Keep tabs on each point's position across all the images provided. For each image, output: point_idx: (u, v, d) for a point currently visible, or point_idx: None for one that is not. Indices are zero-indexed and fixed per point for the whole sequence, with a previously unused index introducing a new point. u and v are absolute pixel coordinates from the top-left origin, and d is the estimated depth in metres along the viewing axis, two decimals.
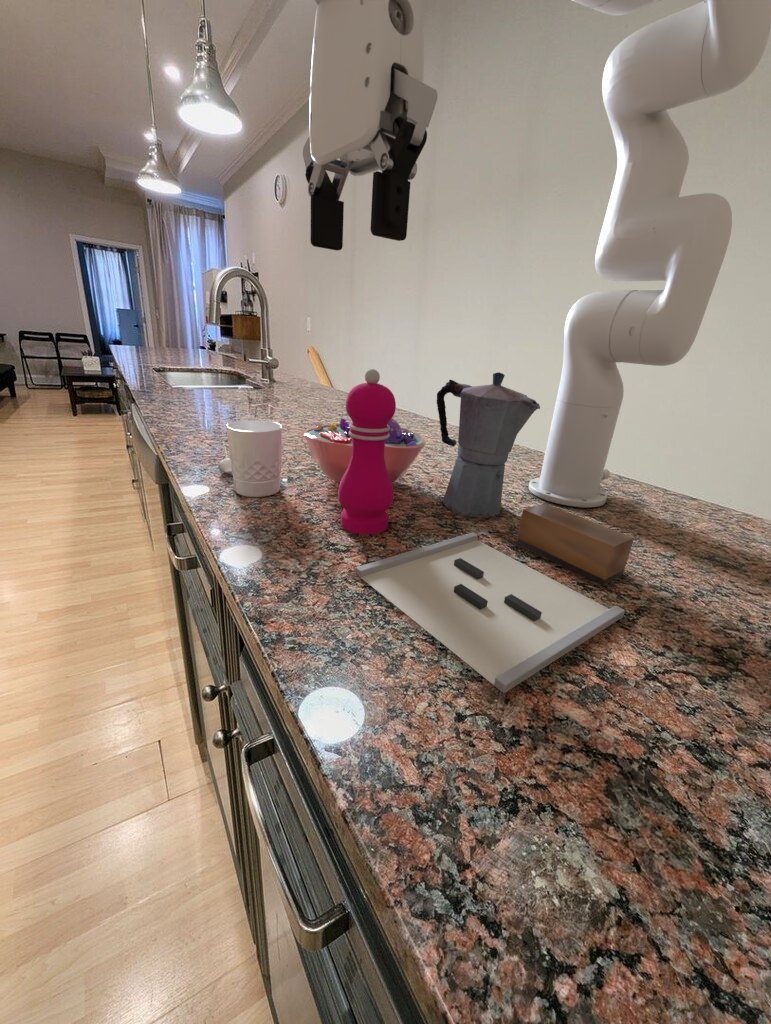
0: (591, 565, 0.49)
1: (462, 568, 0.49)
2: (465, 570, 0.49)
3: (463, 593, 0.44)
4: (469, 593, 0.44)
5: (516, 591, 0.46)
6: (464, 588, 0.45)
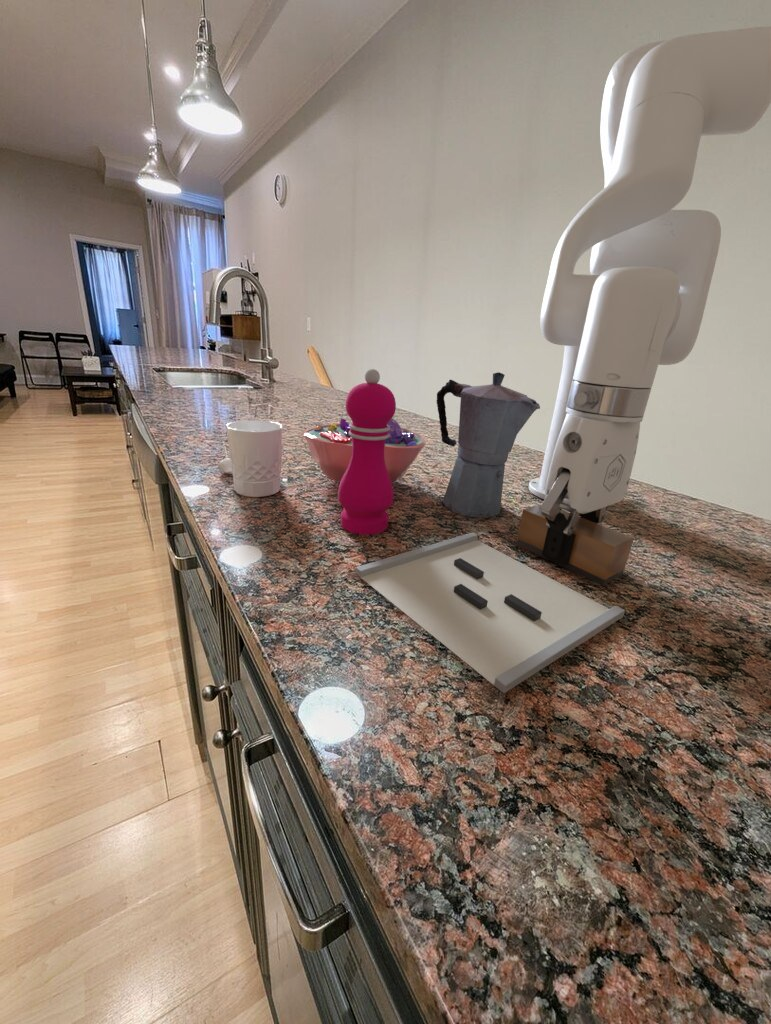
0: (591, 565, 0.49)
1: (462, 568, 0.49)
2: (465, 570, 0.49)
3: (463, 593, 0.44)
4: (469, 593, 0.44)
5: (516, 591, 0.46)
6: (464, 588, 0.45)
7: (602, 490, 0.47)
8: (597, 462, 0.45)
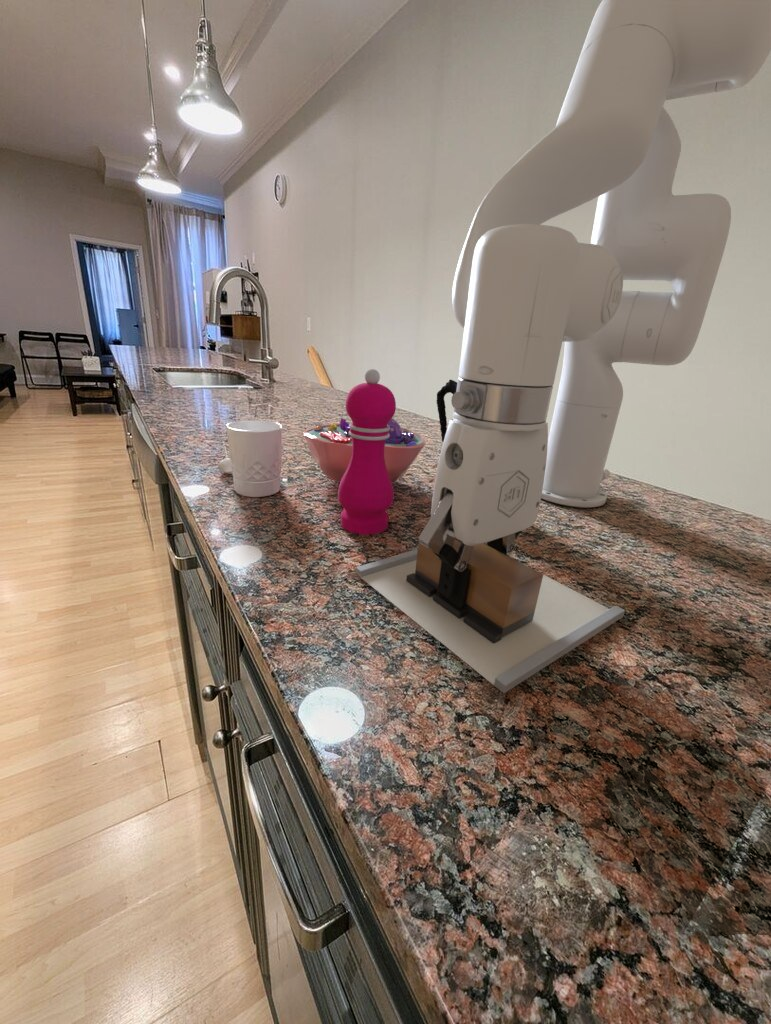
0: (489, 609, 0.39)
1: (414, 584, 0.45)
2: (417, 586, 0.45)
3: (442, 601, 0.42)
4: (448, 601, 0.42)
5: None
6: None
7: (497, 516, 0.37)
8: (483, 482, 0.35)
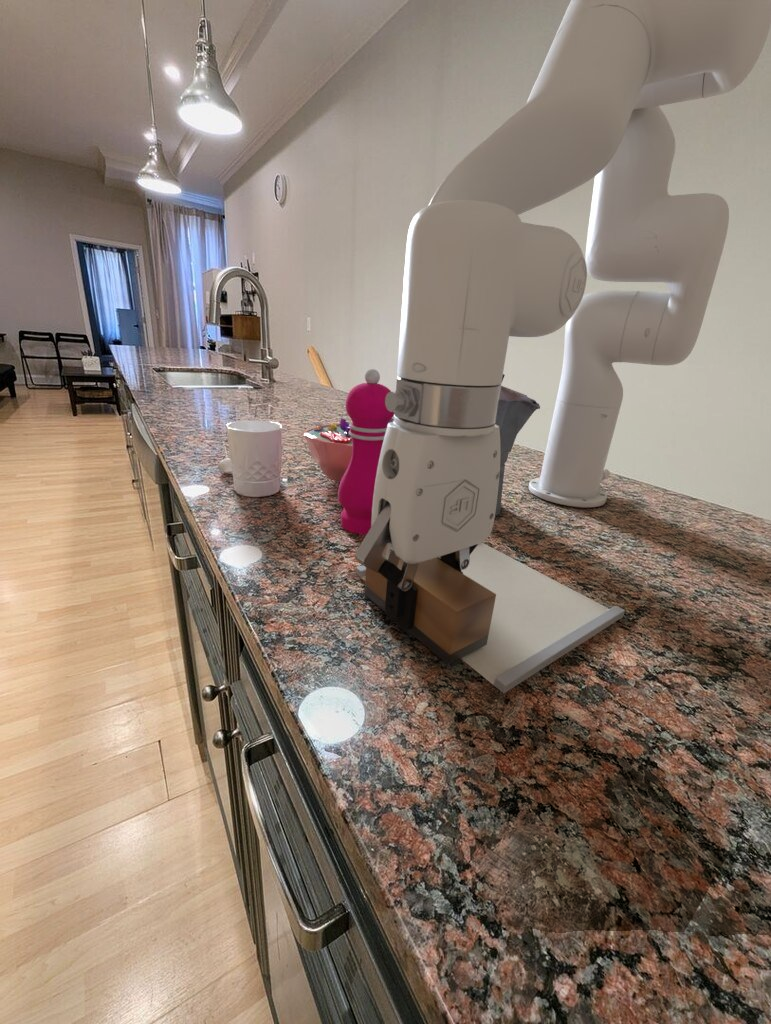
0: (436, 633, 0.35)
1: None
2: None
3: None
4: None
5: (516, 591, 0.46)
6: None
7: (442, 531, 0.33)
8: (422, 493, 0.31)
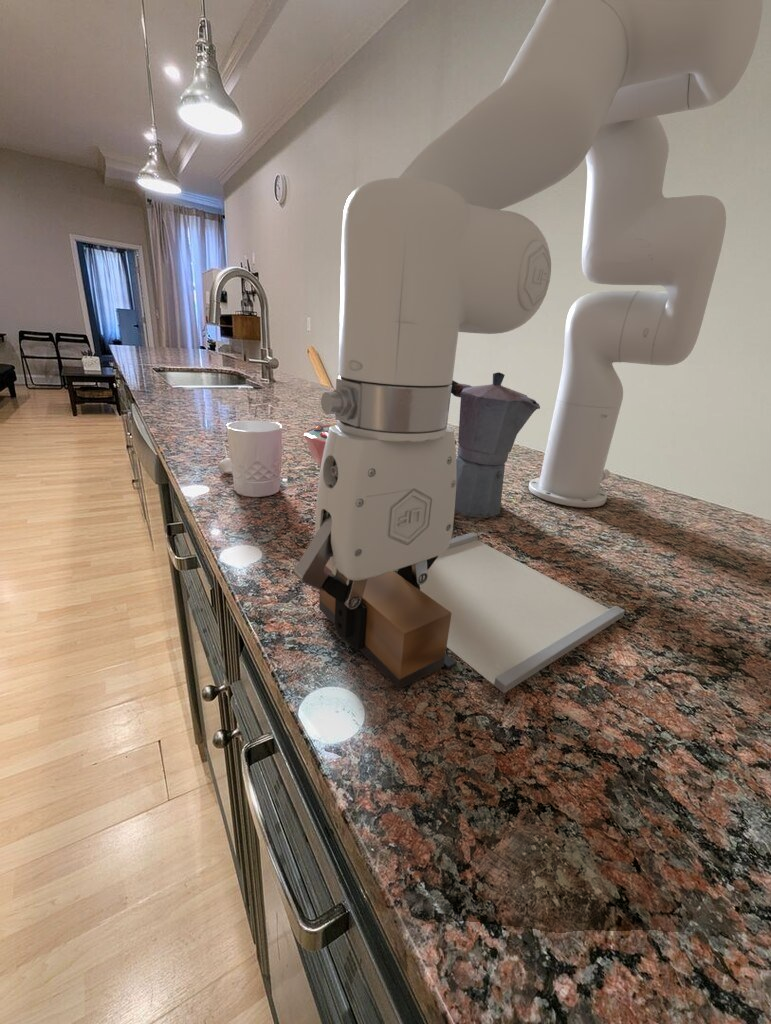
0: (385, 655, 0.32)
1: None
2: None
3: None
4: None
5: (516, 591, 0.46)
6: None
7: (389, 544, 0.31)
8: (364, 504, 0.28)
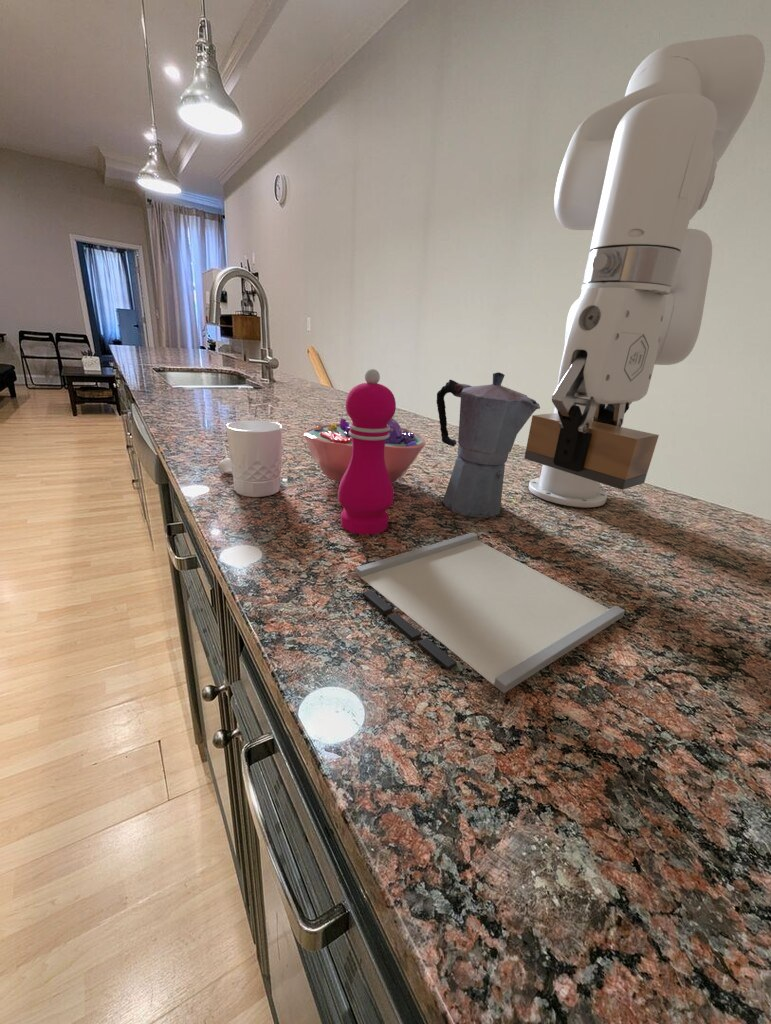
0: (610, 465, 0.44)
1: None
2: (373, 605, 0.42)
3: (396, 624, 0.39)
4: (402, 624, 0.39)
5: (516, 591, 0.46)
6: (398, 617, 0.40)
7: (623, 377, 0.42)
8: (618, 338, 0.39)
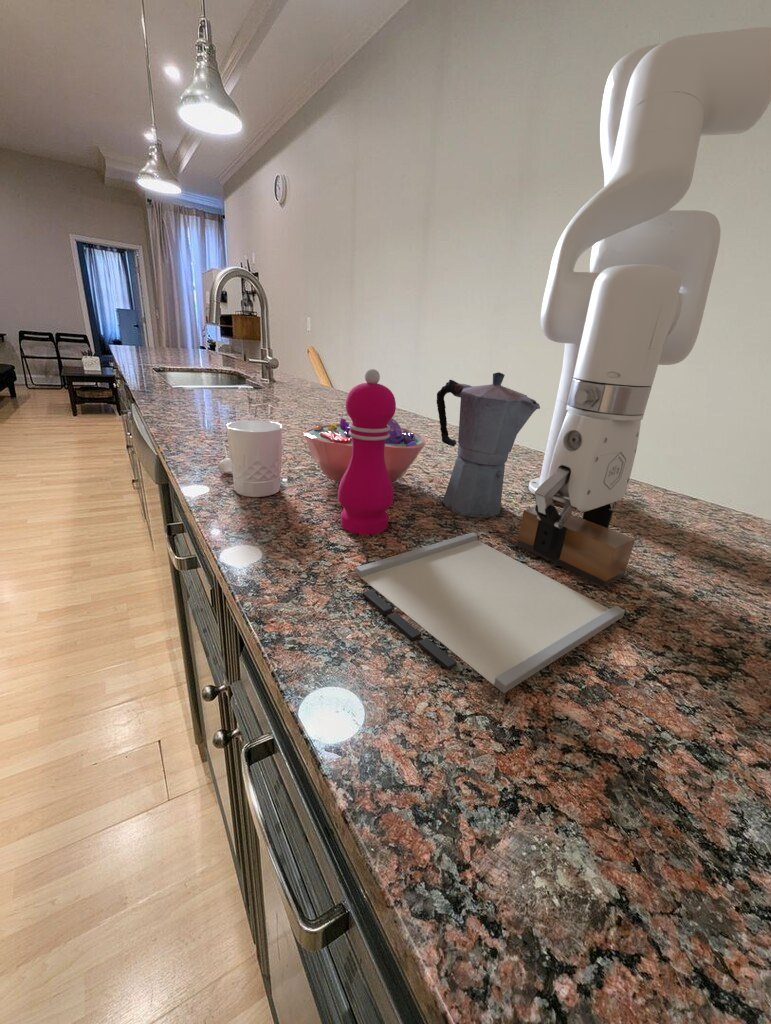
0: (592, 566, 0.49)
1: None
2: (373, 605, 0.42)
3: (396, 624, 0.39)
4: (402, 624, 0.39)
5: (516, 591, 0.46)
6: (398, 617, 0.40)
7: (602, 488, 0.47)
8: (597, 460, 0.45)
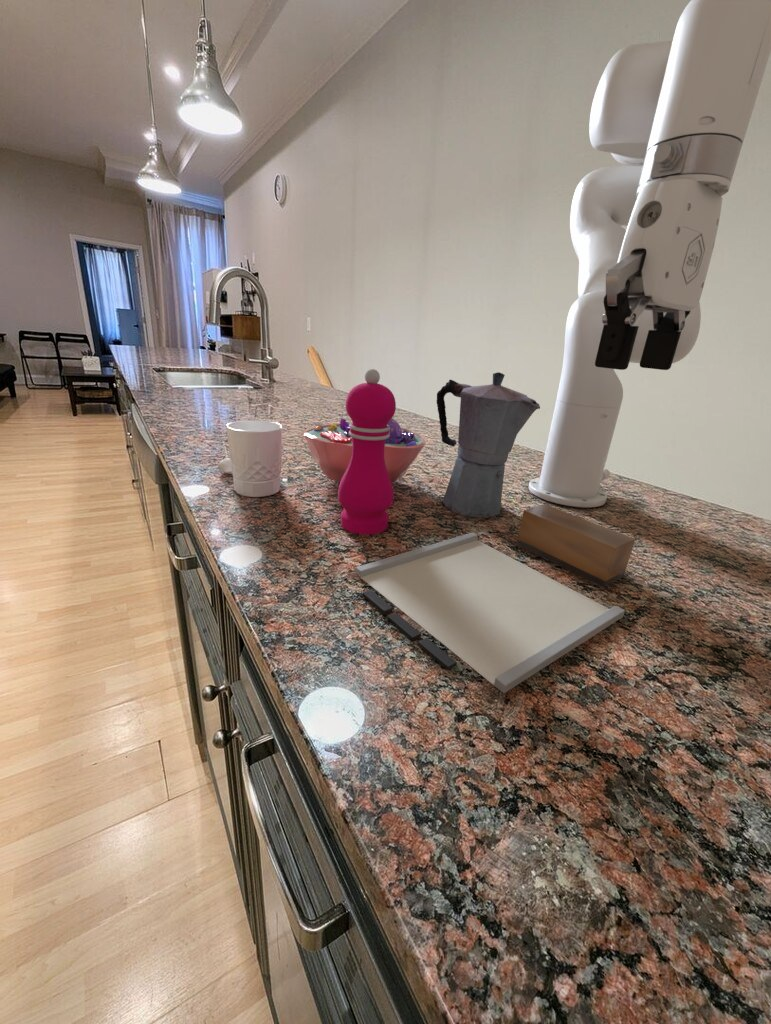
0: (592, 566, 0.49)
1: None
2: (373, 605, 0.42)
3: (396, 624, 0.39)
4: (402, 624, 0.39)
5: (516, 591, 0.46)
6: (398, 617, 0.40)
7: (680, 277, 0.42)
8: (679, 232, 0.39)
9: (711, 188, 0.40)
